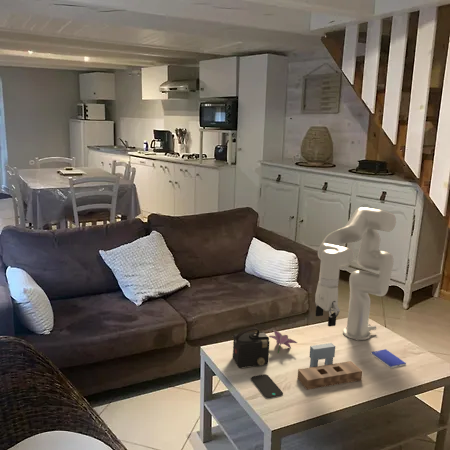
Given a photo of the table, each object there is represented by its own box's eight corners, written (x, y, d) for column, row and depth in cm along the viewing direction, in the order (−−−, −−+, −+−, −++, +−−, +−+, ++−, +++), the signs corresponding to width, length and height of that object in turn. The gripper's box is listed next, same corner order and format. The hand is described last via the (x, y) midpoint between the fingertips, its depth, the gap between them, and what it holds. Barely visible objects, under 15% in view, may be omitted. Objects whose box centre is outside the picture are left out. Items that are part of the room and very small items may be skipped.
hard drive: (371, 351, 208) (391, 366, 197) (386, 348, 211) (406, 362, 200) (371, 355, 209) (390, 369, 198) (385, 352, 212) (405, 366, 201)
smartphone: (266, 398, 173) (249, 376, 187) (266, 400, 173) (249, 378, 187) (284, 394, 176) (266, 373, 190) (284, 396, 176) (266, 375, 190)
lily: (299, 357, 206) (302, 335, 208) (279, 353, 200) (282, 330, 202) (280, 354, 215) (283, 332, 218) (260, 350, 209) (264, 328, 212)
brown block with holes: (350, 369, 195) (350, 361, 194) (361, 380, 188) (362, 371, 187) (297, 378, 188) (298, 369, 187) (307, 389, 180) (307, 380, 179)
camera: (271, 366, 196) (273, 333, 192) (239, 370, 192) (240, 336, 189) (262, 353, 206) (263, 321, 203) (231, 357, 202) (232, 324, 199)
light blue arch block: (329, 362, 200) (331, 342, 198) (333, 365, 198) (335, 346, 196) (308, 365, 197) (310, 345, 195) (312, 369, 195) (313, 349, 192)
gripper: (309, 274, 195) (306, 313, 199) (331, 289, 179) (328, 331, 183) (325, 272, 197) (322, 311, 201) (349, 287, 181) (345, 329, 185)
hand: (325, 320), depth 192 cm, fingers open, 9 cm apart
